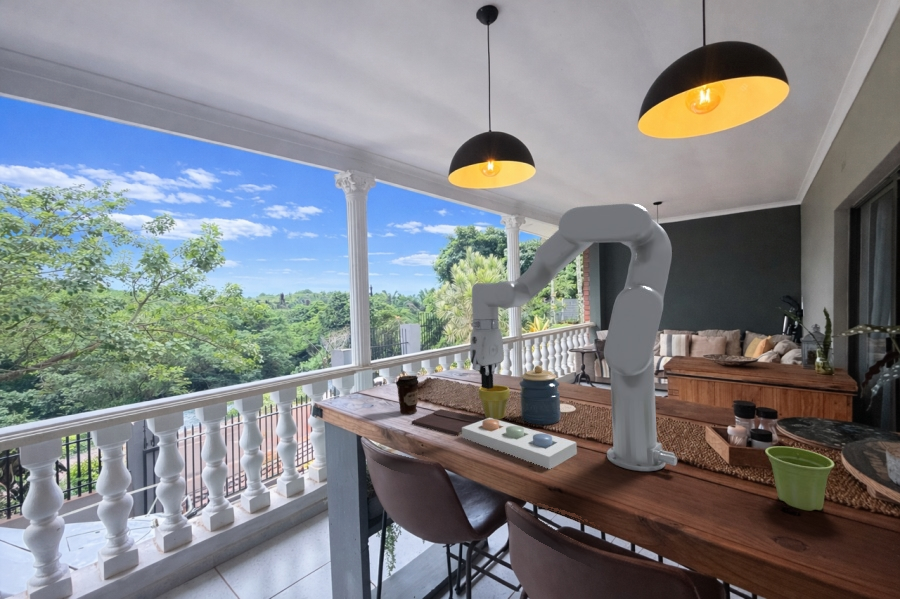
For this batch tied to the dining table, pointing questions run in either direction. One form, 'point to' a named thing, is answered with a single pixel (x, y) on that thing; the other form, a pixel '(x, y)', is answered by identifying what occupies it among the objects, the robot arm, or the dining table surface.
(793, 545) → the dining table surface
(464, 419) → the notebook
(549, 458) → the button panel
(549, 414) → the canister
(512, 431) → the sage button
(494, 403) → the plant pot
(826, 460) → the plant pot
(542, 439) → the slate button
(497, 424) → the rust button
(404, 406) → the coffee cup
